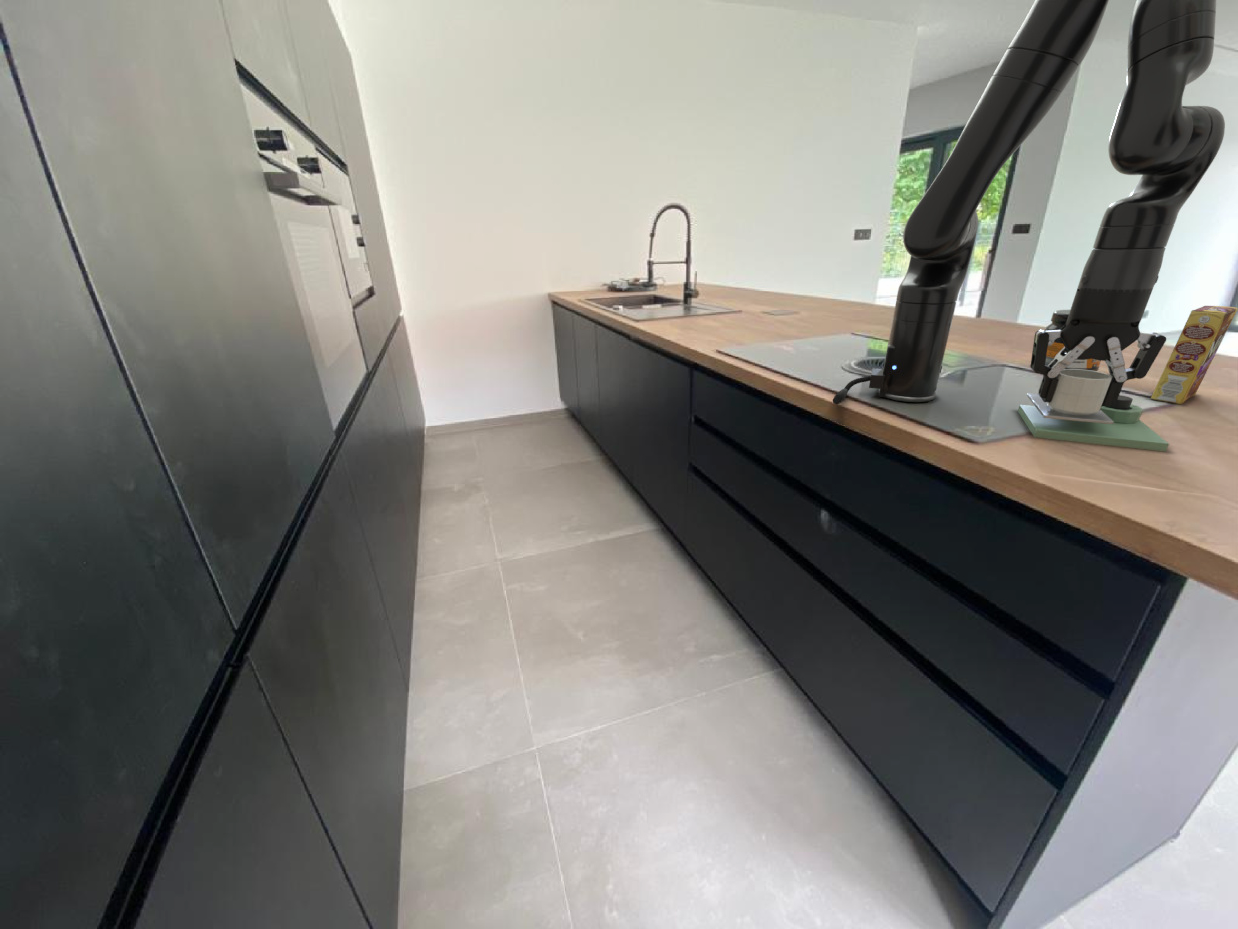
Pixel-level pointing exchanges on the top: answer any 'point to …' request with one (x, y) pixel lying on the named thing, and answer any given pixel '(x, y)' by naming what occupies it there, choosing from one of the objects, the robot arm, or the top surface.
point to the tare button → (1121, 403)
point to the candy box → (1193, 353)
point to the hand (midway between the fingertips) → (1073, 402)
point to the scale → (1096, 429)
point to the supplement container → (1057, 323)
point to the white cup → (1080, 391)
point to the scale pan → (1050, 413)
